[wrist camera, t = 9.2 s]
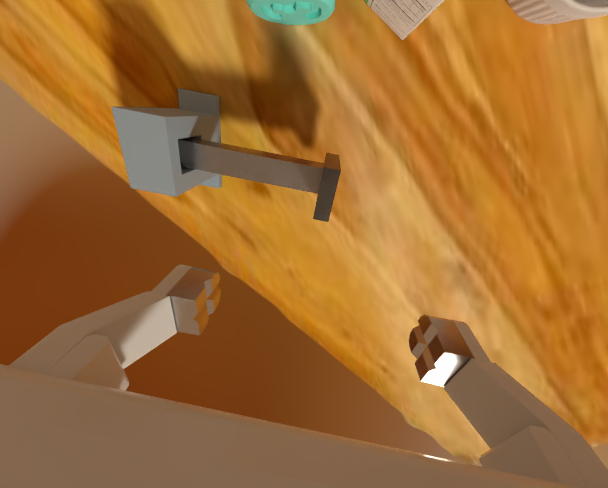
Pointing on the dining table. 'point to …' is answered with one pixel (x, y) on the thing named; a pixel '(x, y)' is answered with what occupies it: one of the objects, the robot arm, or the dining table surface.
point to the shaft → (265, 169)
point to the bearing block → (167, 142)
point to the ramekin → (558, 10)
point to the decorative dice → (293, 10)
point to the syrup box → (403, 13)
